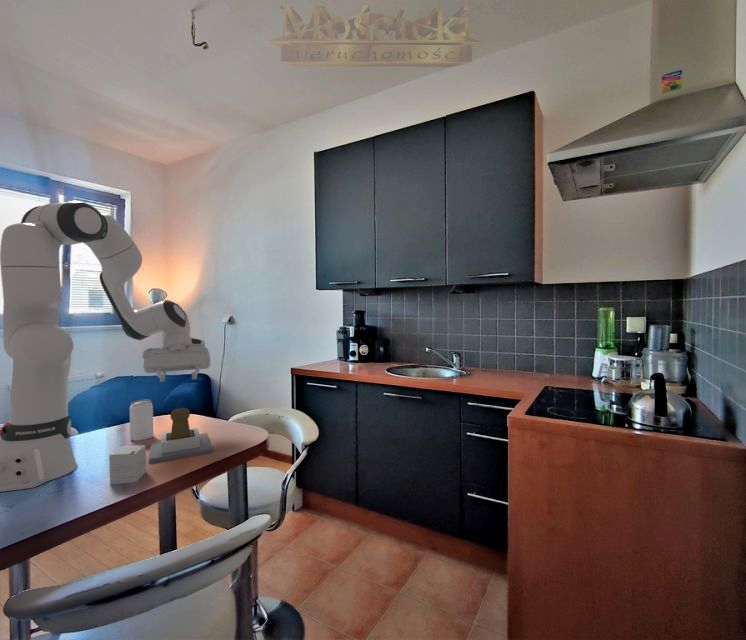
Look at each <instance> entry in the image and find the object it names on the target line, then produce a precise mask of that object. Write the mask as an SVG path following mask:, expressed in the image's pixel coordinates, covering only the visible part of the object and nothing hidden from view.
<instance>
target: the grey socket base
mask: <svg viewBox="0 0 746 640" xmlns="http://www.w3.org/2000/svg"><path fill="white" fill-rule="evenodd" d="M189 429H190V435H191V437H189V438H183V439H176V440H170V439H171V431H166V432H161V439H157V440H151V442H150V447H149V448H150V449H149V453H148V454H149V455H148V456H149V457H148V464H153V463H158V462H159V463H160V462H166V461H171V460H176V459H177V458H178V459H182V458H189V457H193V456H199V455H200V456H201V455H205V454H212V453H213V447H212V445H211V441H210V438H209V435H208V432H204V433H203V432H202V433H199V428H198V427H193V428H189Z"/></svg>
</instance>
